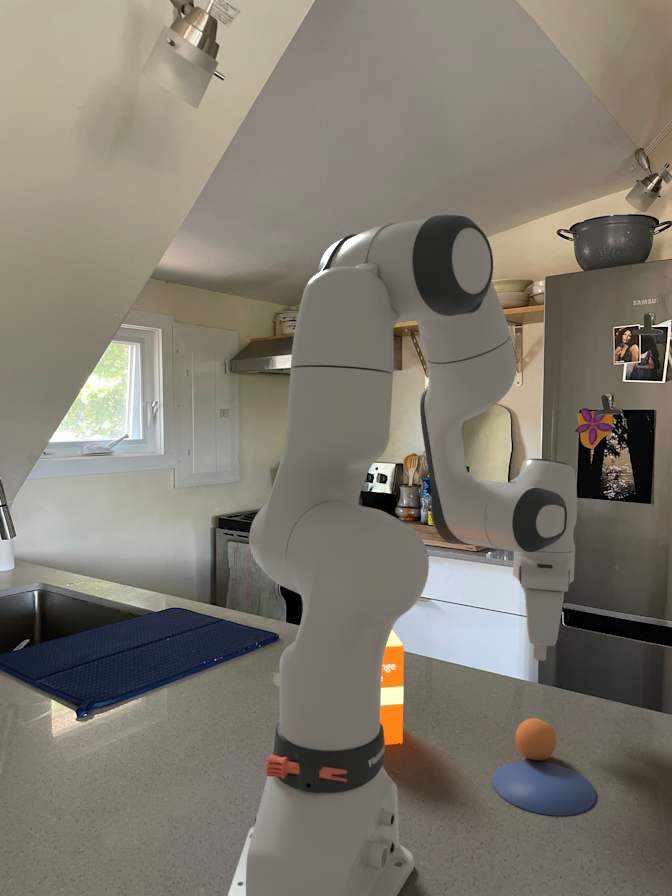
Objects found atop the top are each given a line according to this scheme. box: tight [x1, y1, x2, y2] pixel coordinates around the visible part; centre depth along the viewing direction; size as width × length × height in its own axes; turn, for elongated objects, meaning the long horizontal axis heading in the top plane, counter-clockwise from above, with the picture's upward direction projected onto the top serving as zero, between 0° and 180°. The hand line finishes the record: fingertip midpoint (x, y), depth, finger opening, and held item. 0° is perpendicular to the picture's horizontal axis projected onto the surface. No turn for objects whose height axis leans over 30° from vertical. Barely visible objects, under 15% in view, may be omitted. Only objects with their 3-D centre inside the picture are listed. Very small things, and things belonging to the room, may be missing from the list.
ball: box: [515, 717, 557, 761], centre depth 98 cm, size 6×6×6 cm
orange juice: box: [380, 629, 405, 746], centre depth 106 cm, size 8×9×20 cm
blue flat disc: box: [491, 760, 597, 817], centre depth 91 cm, size 13×13×1 cm
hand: (539, 657), depth 105 cm, fingers closed
